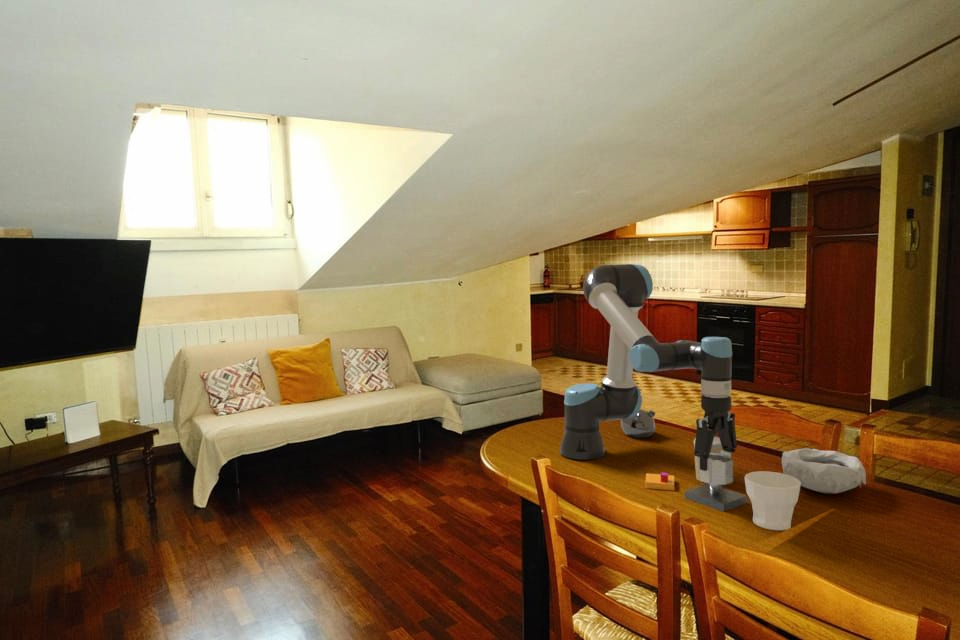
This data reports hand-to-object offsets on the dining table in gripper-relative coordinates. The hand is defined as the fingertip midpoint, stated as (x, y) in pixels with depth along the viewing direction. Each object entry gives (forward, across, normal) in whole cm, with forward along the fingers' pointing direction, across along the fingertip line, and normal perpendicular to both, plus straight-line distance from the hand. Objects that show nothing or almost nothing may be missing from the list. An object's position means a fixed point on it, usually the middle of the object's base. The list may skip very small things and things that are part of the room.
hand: (715, 478), depth 161 cm
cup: (+6, -2, -17) cm, 18 cm away
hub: (0, 0, 0) cm, 0 cm away
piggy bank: (+6, +29, +53) cm, 61 cm away
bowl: (+6, +30, -13) cm, 33 cm away
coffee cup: (+6, +13, +11) cm, 18 cm away
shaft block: (+6, 0, 0) cm, 6 cm away
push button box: (+7, -2, +17) cm, 19 cm away
